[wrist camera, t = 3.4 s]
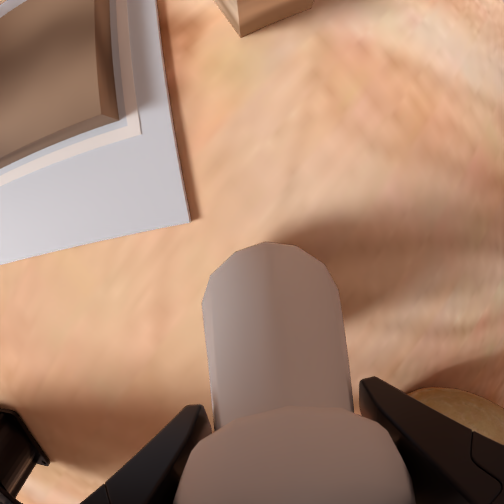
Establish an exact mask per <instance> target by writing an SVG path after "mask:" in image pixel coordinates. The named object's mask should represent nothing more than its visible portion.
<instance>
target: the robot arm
mask: <svg viewBox="0 0 504 504" xmlns="http://www.w3.org/2000/svg"><path fill="white" fill-rule="evenodd" d="M359 407H360V412H361V415H362V416H363V417H365V418H368V419H370V420H373V421H375V422H378V423H379V424H380V425H381V426H382V427H383V428H385V429H386V430H387V431H388V433H389V435H390V437H391V438H392V440H393V442H394V444H395V446H396V448H397V450H398V452H399V453H400V455H401V457H402V459H403V461H404V463H405V465H406V467H407V469H408V472H409V474H410V476H411V478H412V483H413V489H414V494H415V500H416V504H504V445H503V444H501V443H498V442H496V441H494V440H492V439H490V438H488V437H486V436H484V435H482V434H480V433H478V432H476V431H473V432H472V429H470V428H468V427H466V426H464V425H462V424H460V423H459V422H457V421H455V420H453V419H451V418H449V417H447V416H445V415H444V414H442V413H440V412H438V411H436V410H434V409H433V408H431V407H429V406H427V405H425V404H424V403H422V402H420V401H418V400H416V399H415V398H413V397H411V396H409V395H407V394H406V393H404V392H402V391H400V390H399V389H397V388H395V387H393V386H392V385H390V384H388V383H386V382H385V381H383V380H381V379H379V378H378V377H375V376H374V377H369V378H365V379H362V380H361V381H360V383H359ZM210 434H212V430H211V425H210V423H209V420H208V417H207V414H206V412H205V409H204V407H203V406H202V405H201V404H197V405H187V406H186V407H184V408H183V409H182V410H181V411H180V412H179V413H178V414H177V415H176V416H175V417H174V418H173V419H172V420H171V421H170V422H169V423H168V424H167V425H166V426H165V427H164V428H163V429H162V430H161V431H160V432H159V433H158V434H157V435H156V436H155V437H154V438H153V439H152V440H151V441H150V442H149V443H147V444H146V445H145V446H144V447H143V448H142V449H141V450H140V451H139V452H138V453H137V454H136V455H135V456H134V457H133V458H131V459H130V460H129V461H128V462H127V463H126V464H125V465H124V466H123V467H122V468H121V469H119V470H118V471H117V472H116V473H115V474H114V475H113V476H112V477H111V478H109V479H108V480H107V481H106V482H105V484H103V485H101V486H100V487H99V488H98V489H97V490H96V491H95V492H93V493H92V494H91V495H90V496H88V497H87V498H86V499H85V500H84V501H82V502H81V503H80V504H173V501H174V497H175V494H176V491H177V488H178V485H179V482H180V478H181V476H182V473H183V471H184V468H185V466H186V463H187V461H188V458H189V456H190V453H191V451H192V450H193V449H194V447H195V446H196V445H197V444H198V442H199V441H200V440H202V439H204V438H205V437H207V436H209V435H210ZM36 464H40V465H44V466H49V464H50V461H49V460H48V458H47V457H46V456H45V454H44V453H43V451H42V450H41V449H40V447H39V446H38V444H37V443H36V442H35V440H34V439H33V437H32V436H31V434H30V433H29V431H28V430H27V428H26V426H25V425H24V423H23V422H22V420H21V418H20V417H19V415H18V414H17V413H16V412H15V411H12V410H6V409H1V408H0V504H23V503H20V502H19V501H18V500H17V499H16V496H17V494H18V493H19V491H20V489H21V488H22V486H23V484H24V483H25V481H26V480H27V478H28V476H29V475H30V473H31V472H32V470H33V468H34V467H35V465H36Z"/></svg>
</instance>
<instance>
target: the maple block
mask: <svg viewBox="0 0 504 504" xmlns="http://www.w3.org/2000/svg"><path fill="white" fill-rule="evenodd" d="M213 1H214V2H215V4H216V5H217V6H218V8H219V9H220V10H221V12H222V13H223V14H224V16H225V17H226V18H227V20H228V21H229V22H230V24H231V25H232V27H233V28H234V29H235V31H236V32H237V34H238V35H239V36H240V38H241V37H244V36H246V35H248V34H250V33H252V32H254V31H256V30H259V29H261V28H263V27H265V26H268V25H270V24H272V23H275V22H277V21H280V20H282V19H284V18H287V17H289V16H292V15H295V14H297V13H300V12H303V11H305V10H308V9H311V7H312V4H313V2H314V0H213Z"/></svg>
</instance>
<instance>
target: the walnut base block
mask: <svg viewBox="0 0 504 504" xmlns="http://www.w3.org/2000/svg"><path fill="white" fill-rule="evenodd" d="M116 121H119V114H118V106H117V98H116V89H115V80H114V70H113V58H112V45H111V28H110V1H109V0H27V1H25V2H23V3H22V4H20V5H19V6H17V7H16V8H14V9H12V10H11V11H9V12H8V13H7V14H5V15H4V16H2V17H1V18H0V169H1V168H3V167H5V166H7V165H9V164H11V163H13V162H15V161H18V160H20V159H22V158H24V157H26V156H28V155H30V154H33V153H35V152H37V151H39V150H42V149H44V148H46V147H49V146H51V145H54V144H56V143H58V142H61V141H63V140H66V139H69V138H71V137H74V136H76V135H79V134H82V133H84V132H87V131H90V130H93V129H95V128H98V127H101V126H104V125H107V124H110V123H113V122H116Z"/></svg>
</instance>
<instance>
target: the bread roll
mask: <svg viewBox="0 0 504 504" xmlns="http://www.w3.org/2000/svg"><path fill="white" fill-rule="evenodd" d="M407 395H409V396H411V397H413V398H415V399H416V400H418V401H420V402H422V403H424V404H425V405H427V406H429V407H431V408H433V409H434V410H436V411H438V412H440V413H442V414H444V415H445V416H447V417H449V418H451V419H453V420H455V421H457V422H459V423H460V424H462V425H464V426H466V427H468V428H470V429H472V432H473V431H476V432H478V433H480V434H482V435H484V436H486V437H488V438H490V439H492V440H494V441H496V442H498V443H501V444H503V445H504V408H502V407H500V406H499V405H497V404H495V403H493V402H491V401H490V400H487V399H485V398H483V397H481V396H478V395H476V394H473V393H470V392H467V391H463V390H459V389H451V388H441V387H429V388H422V389H418V390H416V391H413V392H411V393H408V394H407Z"/></svg>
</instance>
